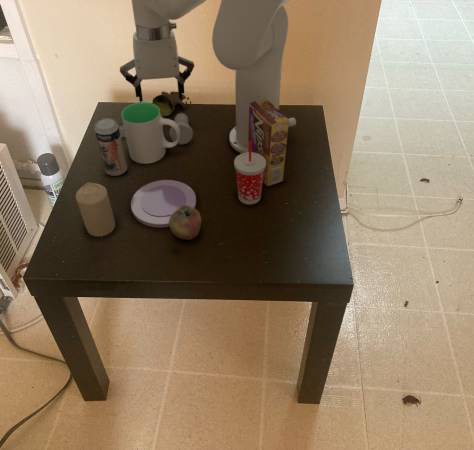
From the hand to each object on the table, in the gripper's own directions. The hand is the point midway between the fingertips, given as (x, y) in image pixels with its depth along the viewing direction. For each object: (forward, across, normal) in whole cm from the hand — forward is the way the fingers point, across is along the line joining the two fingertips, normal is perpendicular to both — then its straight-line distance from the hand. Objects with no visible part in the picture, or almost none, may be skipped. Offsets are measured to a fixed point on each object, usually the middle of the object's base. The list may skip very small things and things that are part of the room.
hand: (160, 97), depth 119 cm
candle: (+3, +14, +39) cm, 42 cm away
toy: (+1, 0, +3) cm, 3 cm away
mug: (+3, +2, +18) cm, 18 cm away
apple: (+3, -2, +44) cm, 44 cm away
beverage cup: (+3, -15, +36) cm, 39 cm away
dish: (+3, +2, +35) cm, 35 cm away
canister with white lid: (+4, +11, +22) cm, 25 cm away
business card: (+4, +10, +8) cm, 14 cm away
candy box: (+3, -20, +29) cm, 35 cm away
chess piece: (0, -4, +16) cm, 16 cm away
